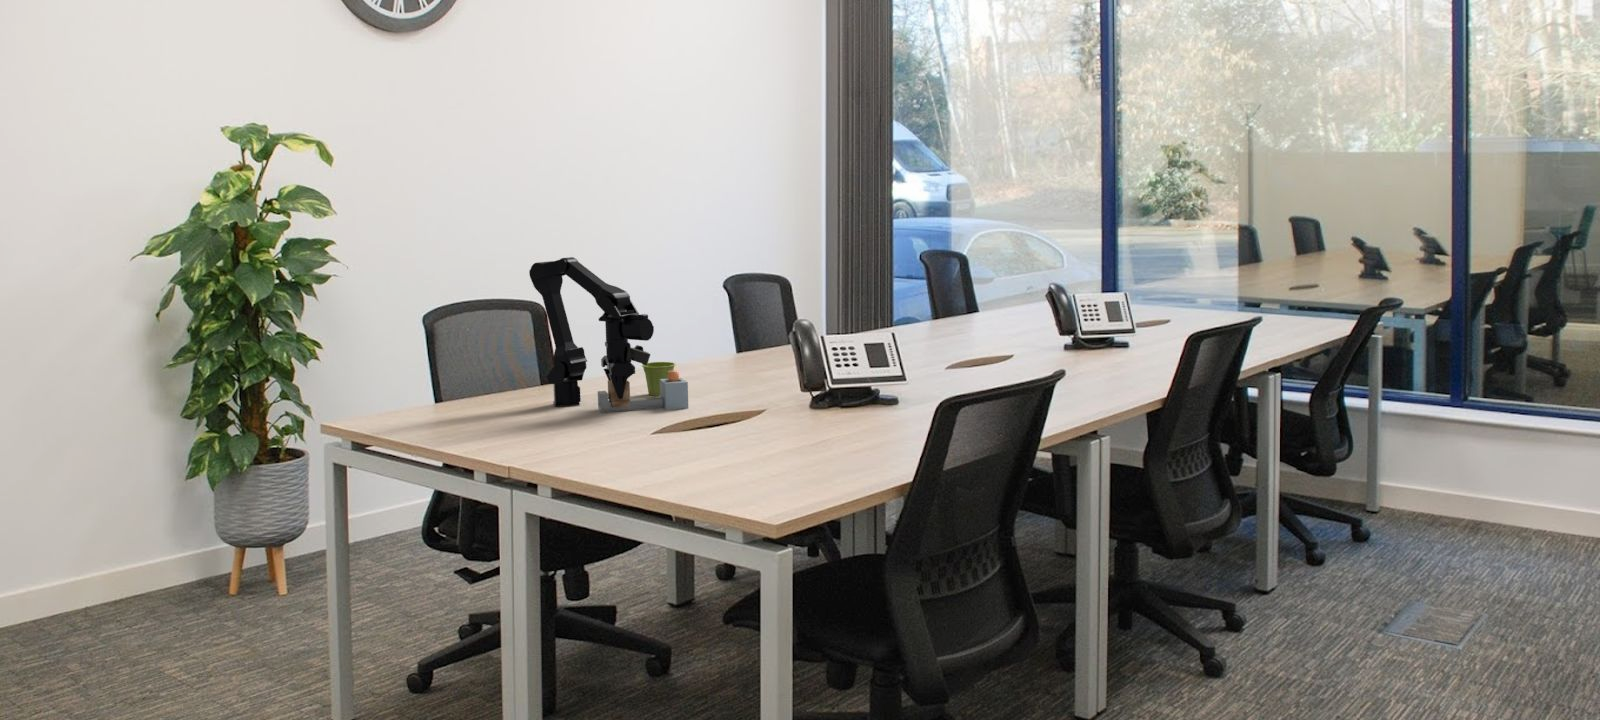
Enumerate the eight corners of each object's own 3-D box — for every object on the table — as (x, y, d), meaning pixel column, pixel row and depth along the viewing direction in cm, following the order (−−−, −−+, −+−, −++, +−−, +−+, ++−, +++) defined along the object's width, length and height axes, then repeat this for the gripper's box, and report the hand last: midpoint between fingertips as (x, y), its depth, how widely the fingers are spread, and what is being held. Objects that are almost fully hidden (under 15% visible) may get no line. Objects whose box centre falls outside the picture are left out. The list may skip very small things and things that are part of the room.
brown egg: (669, 385, 365) (668, 372, 364) (667, 384, 368) (666, 370, 367) (680, 385, 366) (679, 371, 365) (678, 383, 368) (677, 370, 368)
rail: (601, 412, 359) (600, 394, 359) (598, 409, 364) (597, 391, 363) (668, 408, 364) (668, 389, 364) (665, 405, 369) (664, 387, 368)
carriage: (611, 407, 360) (610, 383, 359) (608, 404, 365) (607, 380, 364) (630, 406, 361) (629, 382, 360) (627, 403, 366) (626, 379, 365)
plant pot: (674, 397, 383) (673, 366, 381) (640, 397, 383) (639, 366, 382) (678, 391, 392) (677, 361, 391) (645, 392, 392) (644, 362, 391)
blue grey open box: (666, 409, 363) (665, 383, 362) (660, 404, 370) (659, 379, 369) (688, 408, 364) (687, 382, 363) (682, 403, 372) (681, 377, 371)
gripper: (653, 341, 354) (655, 400, 356) (641, 333, 372) (642, 390, 374) (610, 343, 351) (612, 403, 353) (599, 335, 369) (602, 392, 371)
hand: (618, 397), depth 363 cm, fingers closed on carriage, 5 cm apart
